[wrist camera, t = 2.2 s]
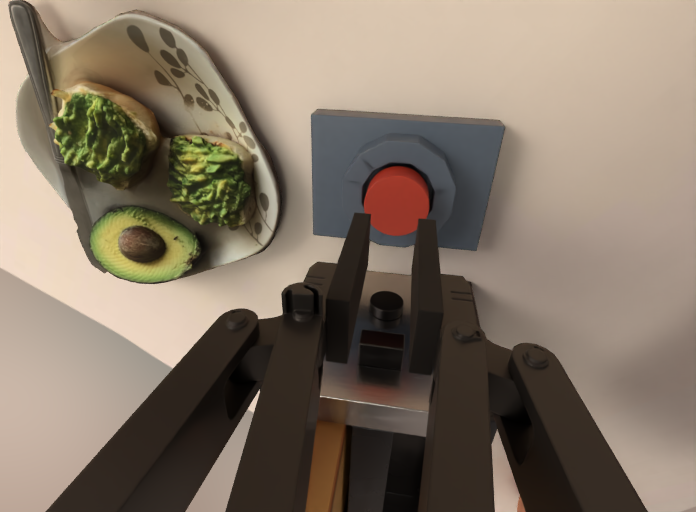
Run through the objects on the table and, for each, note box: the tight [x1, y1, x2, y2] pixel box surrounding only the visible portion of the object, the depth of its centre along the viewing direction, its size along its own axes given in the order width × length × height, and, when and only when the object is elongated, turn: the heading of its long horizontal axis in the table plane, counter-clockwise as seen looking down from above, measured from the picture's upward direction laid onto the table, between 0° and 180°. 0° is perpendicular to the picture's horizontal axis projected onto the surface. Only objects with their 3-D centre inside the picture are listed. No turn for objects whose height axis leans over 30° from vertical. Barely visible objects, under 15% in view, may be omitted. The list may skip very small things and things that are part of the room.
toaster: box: [260, 265, 497, 512], centre depth 29 cm, size 12×19×12 cm, turn 178°
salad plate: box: [8, 0, 282, 284], centre depth 26 cm, size 19×18×5 cm
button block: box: [311, 109, 505, 251], centre depth 24 cm, size 11×8×4 cm
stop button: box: [364, 166, 429, 236], centre depth 22 cm, size 4×4×2 cm
